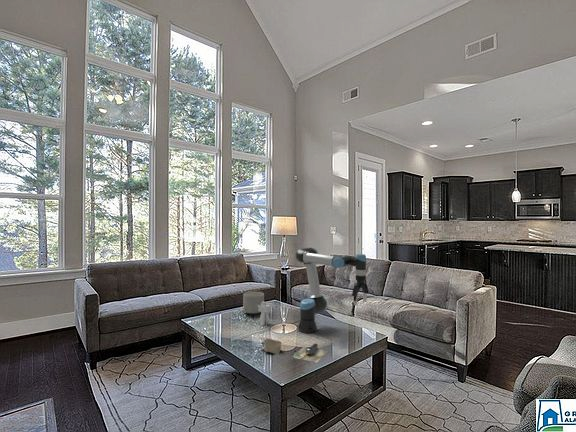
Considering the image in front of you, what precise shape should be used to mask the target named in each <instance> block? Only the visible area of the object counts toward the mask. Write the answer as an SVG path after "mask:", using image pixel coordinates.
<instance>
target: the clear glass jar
mask: <svg viewBox="0 0 576 432" xmlns="http://www.w3.org/2000/svg"><path fill="white" fill-rule="evenodd" d="M271 305H273V303H269V302H266V301H264V302H261V304H260V305H257V306H258V308H259V309H258V311H260V317H259V318H258V320H257V324H260V326H264V325H272V323H273V322H272V321H271V319H270V316H269V312H271V311H272V308H271Z"/></svg>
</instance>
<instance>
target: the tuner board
mask: <svg viewBox="0 0 576 432" xmlns="http://www.w3.org/2000/svg"><path fill="white" fill-rule="evenodd" d="M307 347H308V346H303V347H302V348H301V349H298V350H297V351H296V352H295V353H294V355H293V356H292V358H295V359H298V360H303V361H307V362H312V363H316V364H318V362H320V360H321V359H322V358H323V357H324V356H325V355H326V354H327V353H328V352H329V351H328V350H323V349H317V350H315V355H312V356H309V355H307V356H305V357H304V355H305V354H306V348H307Z"/></svg>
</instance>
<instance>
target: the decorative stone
mask: <svg viewBox="0 0 576 432" xmlns="http://www.w3.org/2000/svg"><path fill="white" fill-rule="evenodd" d="M262 342H263V344H264V345H263V347H261V351H264V353H265V352H266V353H271V354H274V355H277V354H278V355H279V354H280V352H281V348H282V341H280V340H275V339H271V338H268V337H266V338H264V339H263V340H262Z"/></svg>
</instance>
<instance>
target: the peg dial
mask: <svg viewBox="0 0 576 432" xmlns="http://www.w3.org/2000/svg"><path fill="white" fill-rule="evenodd" d="M306 347H307V348H306V354H305V355H304V357H305V356H307V355H309V356H312V355H315V350H317V349H318V347H319V344H318V343H314V344H312V345H311V346H306Z"/></svg>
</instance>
